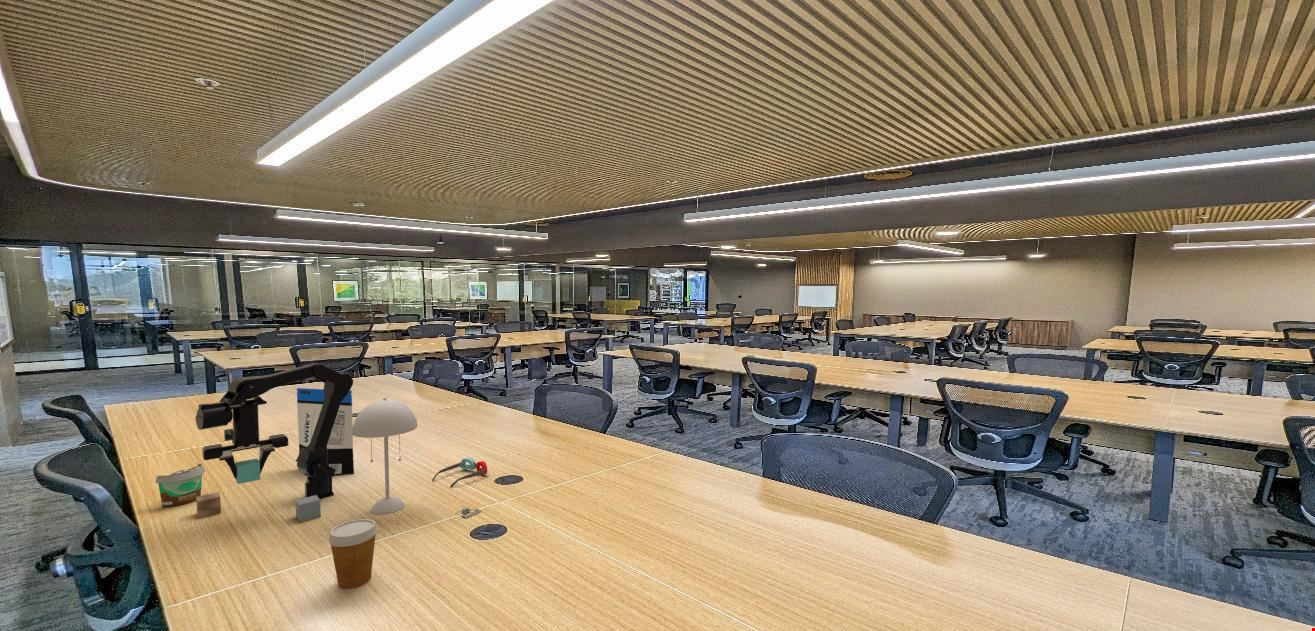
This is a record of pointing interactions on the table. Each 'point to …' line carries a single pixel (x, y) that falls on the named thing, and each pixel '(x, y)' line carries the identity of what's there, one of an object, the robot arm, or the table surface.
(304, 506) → the slate block
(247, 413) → the robot arm
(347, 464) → the protein powder
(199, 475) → the food container
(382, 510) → the lamp
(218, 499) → the walnut block
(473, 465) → the novelty glasses
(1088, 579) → the table surface
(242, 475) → the teal block
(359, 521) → the disposable coffee cup
